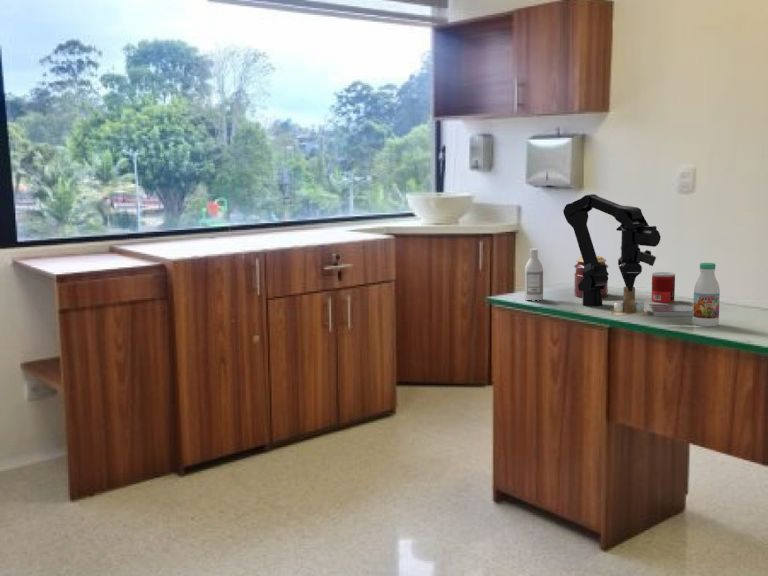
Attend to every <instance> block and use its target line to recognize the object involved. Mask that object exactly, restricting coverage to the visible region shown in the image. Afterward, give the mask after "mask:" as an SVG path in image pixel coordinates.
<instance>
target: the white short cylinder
mask: <svg viewBox="0 0 768 576" xmlns="http://www.w3.org/2000/svg"><path fill="white" fill-rule="evenodd" d="M613 308H614V312H624V303H623V302H622V301H619V302H618V301H617V302H614V303H613Z"/></svg>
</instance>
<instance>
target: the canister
mask: <svg viewBox="0 0 768 576" xmlns="http://www.w3.org/2000/svg"><path fill="white" fill-rule="evenodd" d="M596 257H597V260H598V262H599V263H600V264H601V265H602V264H605V265H606V269H607V270H608V268H609V265H608V264H607V263H606V262H607V259H605V258H604V257H603V256H600V255H596ZM576 262H577V263H576V264H575V265H574V266H573V267H574V268H575V271H574V272H575V273H574V274H573V275H574V288H573V292H574V296H576V297H578V298H583V291H579V289H578V284H579V283H580V282H581V281H582V280H583V279H584V278H583V269H584V262H583V259H582V256H580V257H579V258H577V259H576ZM608 285H609V280H608V281H607V283H606V285H605V288H604V289H602V290H601V293H602V298H605V297H607V296H608V294H609V288H608Z"/></svg>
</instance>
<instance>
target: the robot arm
mask: <svg viewBox="0 0 768 576" xmlns="http://www.w3.org/2000/svg"><path fill="white" fill-rule="evenodd" d="M593 209H595V210H598V211H600V212H602V213H605V214H607V215H609V216H612V217H613V218H614V219H615V221H617V222H618V223H620V225H619V226H618V227H617V228H616V229H615V230H616V232H617V231H618V232H619V231H620V232H621V246H620V251H621V252H620V257H619V258H618V259H617V266H618V269H619V271H620V274H621V277H622V279H623V281H624V284H625V287H627V288H628V291H632V290H633V287H635V281H636V279H637V277H638V276H639V275H640V274H641V273H642V272H643V266H642V264H640V263H641V262H642V263H644V264H647V265H649V266H651V267H654V265H655V262H656V259H657V256H655V255H653V254H652V251H651V250H648V249H646V250H645V251H641V248H640V246H645V247H657V246H658V245H659V244H660V242H661V233H660V232H659V231H658V230H657V226H656V225H651V226H650V225H649V223H648V221H647V220H646V218H645V217H644V215H643V212H642V209H641V208H639V207H637V206H636V207H635V206H630V205H621V204H618V203H616V202H614V201H611V200H609V199H606V198H604V197H601V196H599V195H597V194H594V193H593V194H591V193H590V194H585V195H584V196H581V198H579V199H577V200H575V201H573V202H571V203H567V204H566V205H565V206H564V208H563V210H562V211H563V215H564V219H565V220H566V222H567V223H568V225H570V226H571V228H573V232H574V235H575V238H576V242H577V244H578V248H579V251H580V255H581V257H582V259H583V262H584V269H583V278H584V279H583V280H582V281H581V282H580V283H579V284H578V289H579V291H583V297H582V306H583V307H601V306H603V297H602V293H601V290H602V289H604V288H605V285H606V283H607V281H608V282H609V273H608V268H607V269H606V265H605V264H606V263H605V264H602V265H601V264H600V263H599V262H598V260H597V257H596V256H597V253H596V251H595V247H594V243H593V241H592V240H593V239H592V238H591V235H590V234H591V233H590V231H589V227H588V220H589V212H590V211H592V210H593Z"/></svg>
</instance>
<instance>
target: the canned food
mask: <svg viewBox="0 0 768 576" xmlns="http://www.w3.org/2000/svg"><path fill="white" fill-rule="evenodd" d="M651 275H652V276H651V302H652V303H655V304H656V303H657V304H673V303H674V302H675V295H676V293H675V290H676V289H675V288H676V273H674V272H669V271H668V272H666V271H665V272H664V271H661V272H660V271H659V272H657V271H656V272H652V274H651Z"/></svg>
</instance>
